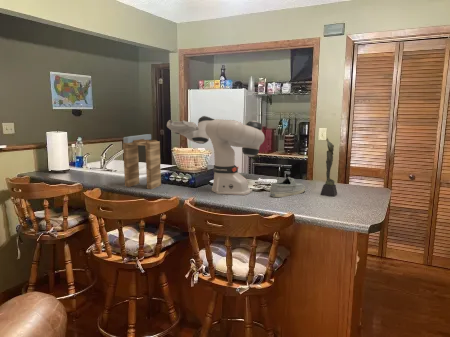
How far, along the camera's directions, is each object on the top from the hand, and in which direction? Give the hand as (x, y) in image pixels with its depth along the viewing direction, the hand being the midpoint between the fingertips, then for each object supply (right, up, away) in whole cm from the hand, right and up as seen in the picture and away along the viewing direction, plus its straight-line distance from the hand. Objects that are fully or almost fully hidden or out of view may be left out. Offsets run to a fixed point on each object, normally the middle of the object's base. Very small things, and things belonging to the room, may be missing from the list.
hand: (176, 121), depth 229 cm
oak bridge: (-17, -40, -18) cm, 47 cm away
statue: (+86, -44, -37) cm, 104 cm away
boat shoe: (+65, -44, -35) cm, 86 cm away
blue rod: (-20, -14, -19) cm, 31 cm away
